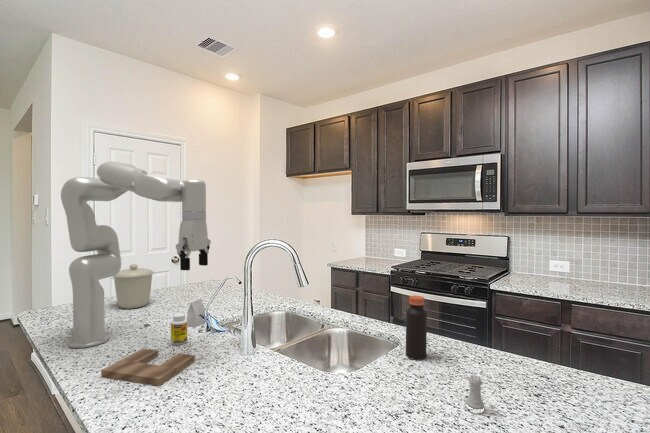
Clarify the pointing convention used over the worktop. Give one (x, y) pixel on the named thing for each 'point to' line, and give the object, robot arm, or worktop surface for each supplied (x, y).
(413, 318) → the vinegar
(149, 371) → the notched board
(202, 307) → the tea bag
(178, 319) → the supplement bottle
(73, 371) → the worktop surface
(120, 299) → the canister
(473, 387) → the rook chess piece
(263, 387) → the worktop surface
